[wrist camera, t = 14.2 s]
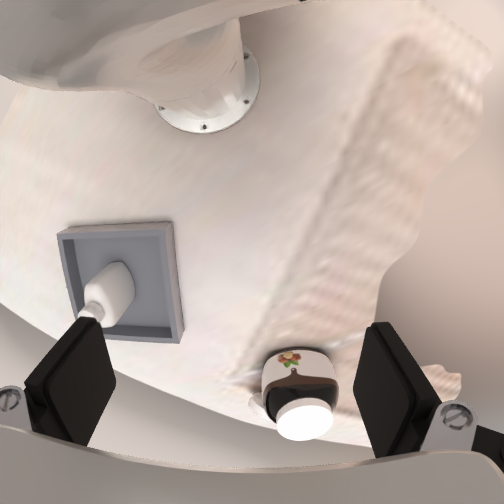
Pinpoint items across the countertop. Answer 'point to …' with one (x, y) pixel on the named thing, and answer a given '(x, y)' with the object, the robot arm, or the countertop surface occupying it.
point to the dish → (142, 271)
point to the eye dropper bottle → (109, 294)
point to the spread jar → (298, 393)
